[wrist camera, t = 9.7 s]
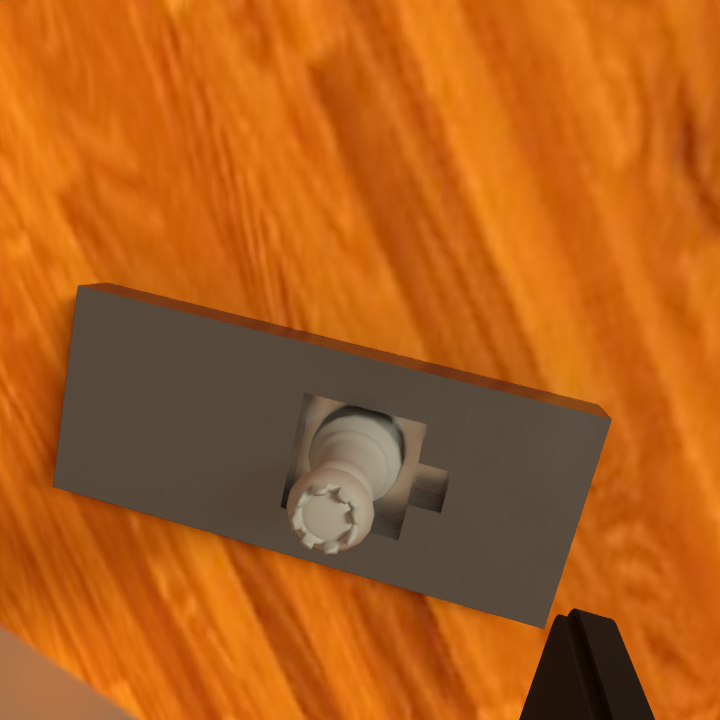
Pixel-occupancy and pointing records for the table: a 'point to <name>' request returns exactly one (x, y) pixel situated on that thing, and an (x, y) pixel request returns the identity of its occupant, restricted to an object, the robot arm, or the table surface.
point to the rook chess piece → (345, 479)
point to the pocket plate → (293, 440)
